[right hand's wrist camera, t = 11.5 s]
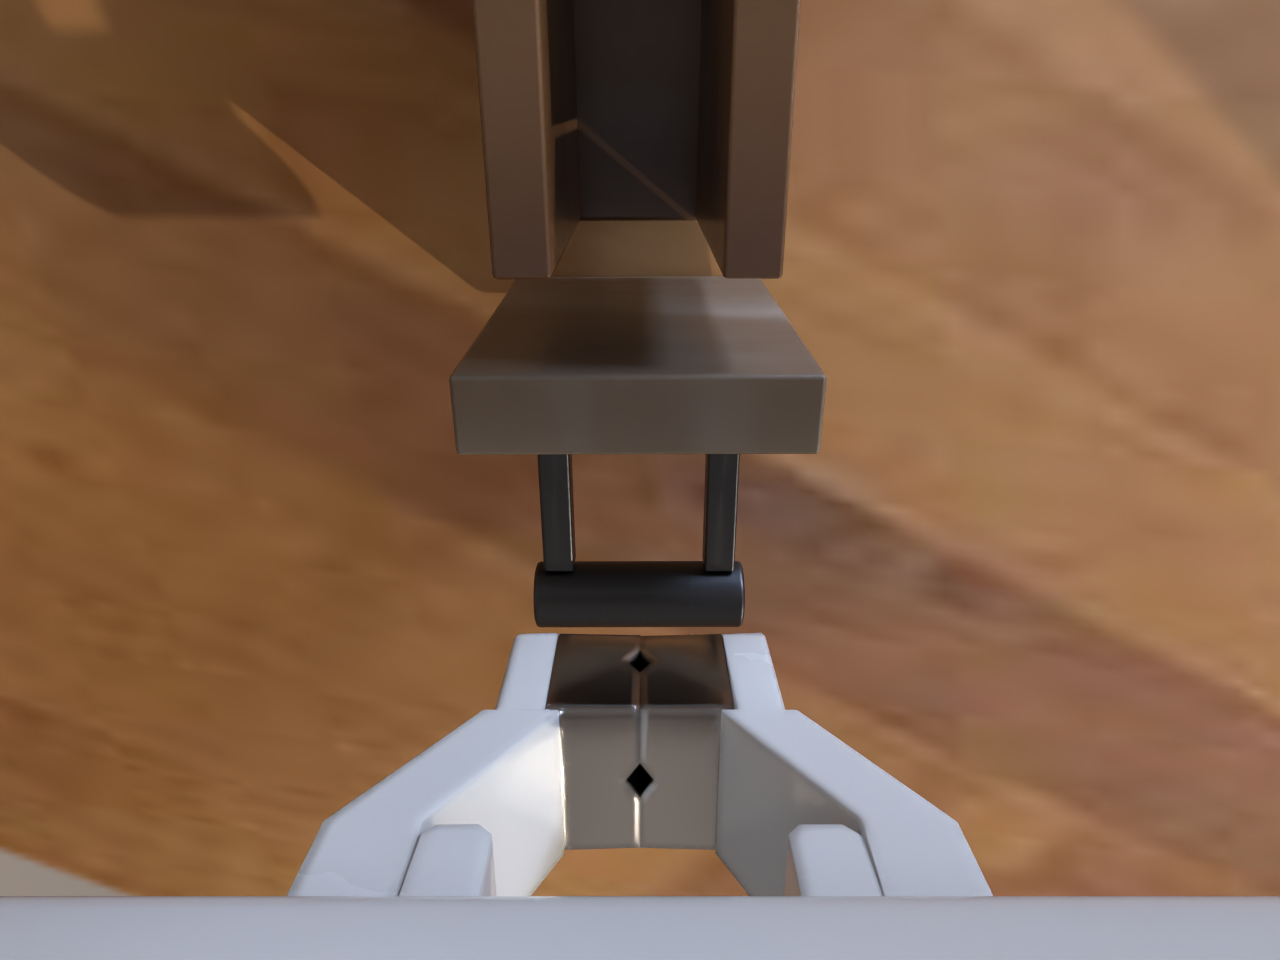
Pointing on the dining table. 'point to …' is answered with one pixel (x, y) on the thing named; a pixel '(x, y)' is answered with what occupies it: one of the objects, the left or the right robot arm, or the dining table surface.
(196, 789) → the dining table surface
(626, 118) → the drawer
